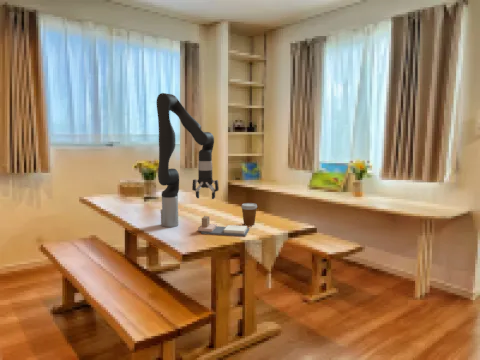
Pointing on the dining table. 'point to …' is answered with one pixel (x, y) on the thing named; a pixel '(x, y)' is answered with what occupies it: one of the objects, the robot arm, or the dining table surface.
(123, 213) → the dining table surface
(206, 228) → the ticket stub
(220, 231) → the ticket base
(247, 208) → the disposable coffee cup
